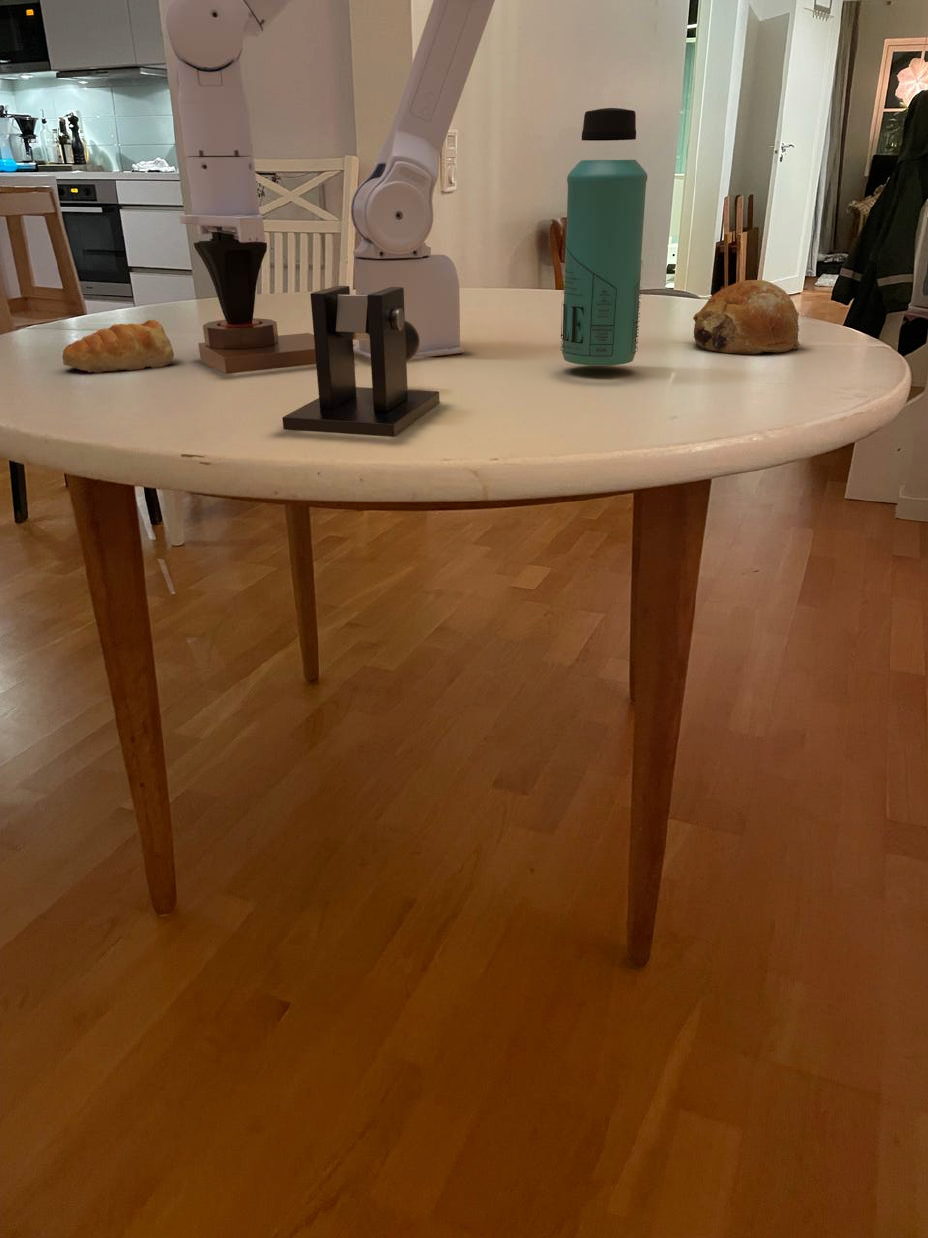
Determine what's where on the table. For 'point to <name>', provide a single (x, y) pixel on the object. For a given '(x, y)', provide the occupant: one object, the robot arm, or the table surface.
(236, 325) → the button
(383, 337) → the bracket
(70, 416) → the table surface
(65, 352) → the pastry
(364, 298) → the lever
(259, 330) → the button block
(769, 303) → the bread roll
